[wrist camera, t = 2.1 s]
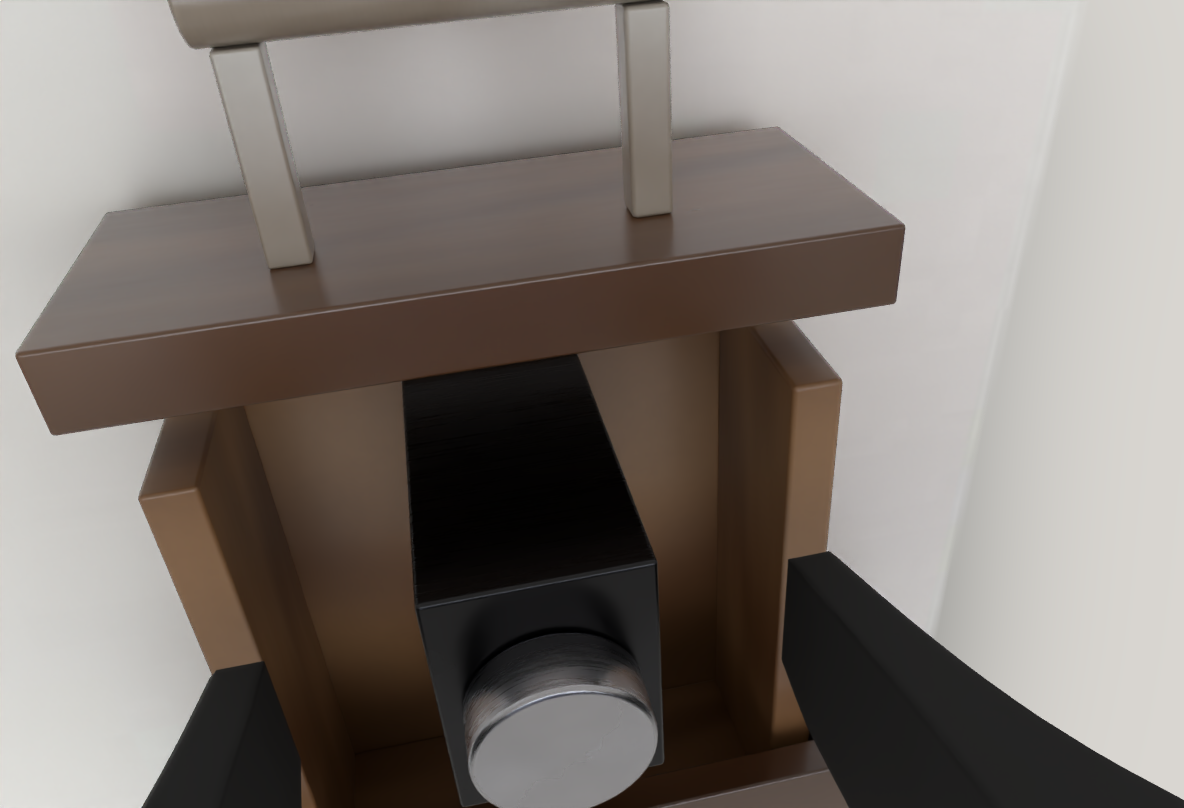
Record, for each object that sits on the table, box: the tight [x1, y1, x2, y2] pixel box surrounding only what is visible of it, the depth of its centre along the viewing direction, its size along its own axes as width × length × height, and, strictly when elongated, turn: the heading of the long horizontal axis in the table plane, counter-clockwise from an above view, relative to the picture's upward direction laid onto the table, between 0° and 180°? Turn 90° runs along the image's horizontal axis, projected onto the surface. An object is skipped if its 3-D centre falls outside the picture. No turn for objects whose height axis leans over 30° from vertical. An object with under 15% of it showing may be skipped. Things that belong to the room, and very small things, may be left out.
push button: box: [401, 354, 665, 808], centre depth 14 cm, size 3×4×7 cm
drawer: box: [15, 0, 905, 808], centre depth 16 cm, size 18×11×5 cm, turn 4°
